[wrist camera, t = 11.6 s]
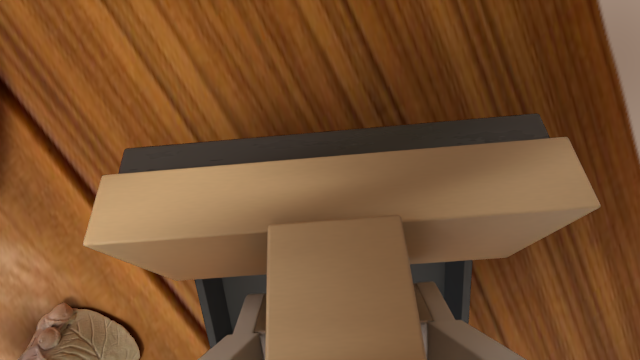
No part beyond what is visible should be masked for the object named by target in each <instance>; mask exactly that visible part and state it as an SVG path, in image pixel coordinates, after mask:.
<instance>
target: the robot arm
mask: <svg viewBox="0 0 640 360" xmlns="http://www.w3.org/2000/svg"><path fill="white" fill-rule="evenodd" d="M413 285H414V291H415V296H416V302H417V308H418V313H419V319H420V324H421V330H422V336H423V341H424V347H425V353H426V358H427V360H526V359H525V358H523V357H521V356H520V355H518V354H516V353H515V352H513V351H511V350H510V349H508V348H506V347H505V346H503V345H502V344H500V343H498V342H497V341H495V340H493V339H492V338H490V337H488V336H487V335H485V334H484V333H482V332H480V331H479V330H477V329H475V328H474V327H472V326H470V325H469V324H467V323H465V322H464V321H462V320H455V318H454V316H453V315H452V313H451V311H450V309H449V307H448V305H447V304H446V302H445V300H444V298H443V296H442V295H441V293H440V291H439V289H438V287H437V286H436V284H435V283H434V282H433V281H429V282H419V283H414V284H413ZM265 342H266V293H257V294H248V295H247V296H246V298H245V301H244V303H243V306H242V309H241V312H240V315H239V318H238V320H237V323H236V326H235V329H234V332H233V334H232V335H227V336H225V337H224V338H223V339H222V340H221V341H219V342H218V343H217V344H216V345H215V346H214V347H212V348H211V349H210V350H209V351H208V352H206V353H205V354H204V355H203V356H202V357H200V358H199V359H198V360H265Z"/></svg>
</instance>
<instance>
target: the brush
mask: <svg viewBox="0 0 640 360" xmlns="http://www.w3.org/2000/svg"><path fill="white" fill-rule="evenodd" d="M599 207H600V203H599V201H598V199H597V197H596V195H595V193H594V191H593V188H592V186H591V184H590V182H589V180H588V178H587V176H586V174H585V172H584V170H583V168H582V166H581V163H580V161H579V159H578V157H577V155H576V153H575V151H574V149H573V147H572V145H571V143H570V140H569V138H568V137H558V138H550V137H549V135H548V133H547V131H546V128H545V126H544V124H543V122H542V119H541V117H540V115H539V114H525V115H513V116H502V117H490V118H478V119H467V120H455V121H443V122H431V123H420V124H408V125H396V126H385V127H373V128H361V129H350V130H338V131H326V132H314V133H303V134H291V135H279V136H268V137H256V138H244V139H232V140H221V141H209V142H197V143H186V144H174V145H162V146H150V147H139V148H127V149H125V150H124V153H123V157H122V161H121V165H120V169H119V173H118V174H111V175H103V176H102V177H101V181H100V185H99V188H98V192H97V195H96V199H95V203H94V206H93V210H92V213H91V217H90V220H89V224H88V228H87V231H86V235H85V238H84V242H83V245H84V246H85V247H88V248H91V249H93V250H96V251H99V252H101V253H104V254H107V255H109V256H112V257H115V258H117V259H120V260H123V261H125V262H128V263H130V264H133V265H136V266H138V267H141V268H144V269H146V270H149V271H152V272H154V273H157V274H160V275H162V276H165V277H168V278H170V279H173V280H175V281H179V280H193V279H208V278H222V277H236V276H250V275H265V274H267V287H266V342H265V360H427V358H426V353H425V347H424V341H423V336H422V330H421V324H420V319H419V313H418V308H417V302H416V296H415V291H414V285H413V280H412V274H411V268H410V264H422V263H436V262H450V261H464V260H479V259H493V258H507V257H508V256H510V255H512V254H514V253H516V252H518V251H520V250H521V249H523V248H525V247H527V246H529V245H531V244H533V243H534V242H536V241H538V240H540V239H542V238H544V237H546V236H547V235H549V234H551V233H553V232H555V231H557V230H559V229H560V228H562V227H564V226H566V225H568V224H570V223H572V222H573V221H575V220H577V219H579V218H581V217H583V216H585V215H586V214H588V213H590V212H592V211H594V210H596V209H598V208H599Z"/></svg>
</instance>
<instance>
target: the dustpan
mask: <svg viewBox="0 0 640 360" xmlns="http://www.w3.org/2000/svg"><path fill="white" fill-rule="evenodd" d="M410 268H411V274H412V280H413V284H414V283H419V282H429V281H433V282H434V283H435V284H436V286H437V287H438V289H439V291H440V293H441V295H442V296H443V298H444V300H445V302H446V304H447V305H448V307H449V309H450V311H451V313H452V315H453V316H454V318H455V320H462V321H464V322H465V323H467V324H468V322H469V306H470V290H471V275H472V260H464V261H450V262H436V263H422V264H410ZM195 284H196V288H197V292H198V296H199V301H200V305H201V309H202V314H203V318H204V322H205V327H206V331H207V335H208V339H209V344H210V348H212V347H214V346H215V345H216V344H217V343H218V342H219V341H221V340H222V339H223V338H224V337H225V336H227V335H232V334H233V332H234V329H235V326H236V323H237V320H238V318H239V315H240V312H241V309H242V306H243V303H244V301H245V298H246V296H247V295H248V294H257V293H266V287H267V274H265V275H250V276H236V277H222V278H208V279H195Z"/></svg>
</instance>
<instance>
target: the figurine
mask: <svg viewBox="0 0 640 360" xmlns="http://www.w3.org/2000/svg"><path fill="white" fill-rule="evenodd" d="M139 358H140V352H139V347H138V346H137V343H135V339H134V338H133V337H132V336H131V335H130V333H129V332H127V330H126V329H125V328H124V327H123V326H121V325H120V324H117V323H116V322H115V321H111V320H110V319H109V318H107V317H105V316H103V315H101V314H100V313H97V312H95V311H92V310H88V309H77V308H71V307H70V306H69V305H67V304H66V303H65V302H64V303H61V304H59V305H57V306H56V307H55V308H54V309H52V310H51V312H50V313H48V314H45V315H44V316H43V317H42V318H41V319H40V321H39V323H38V325H37V329H36V333H35V334H34V335H33V338H32V340H31V342H30V344H29V346H28V347H27V349H26V351H25V352H24V353H23V354H22V355H21V356H20V357H19V359H18V360H139Z"/></svg>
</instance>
